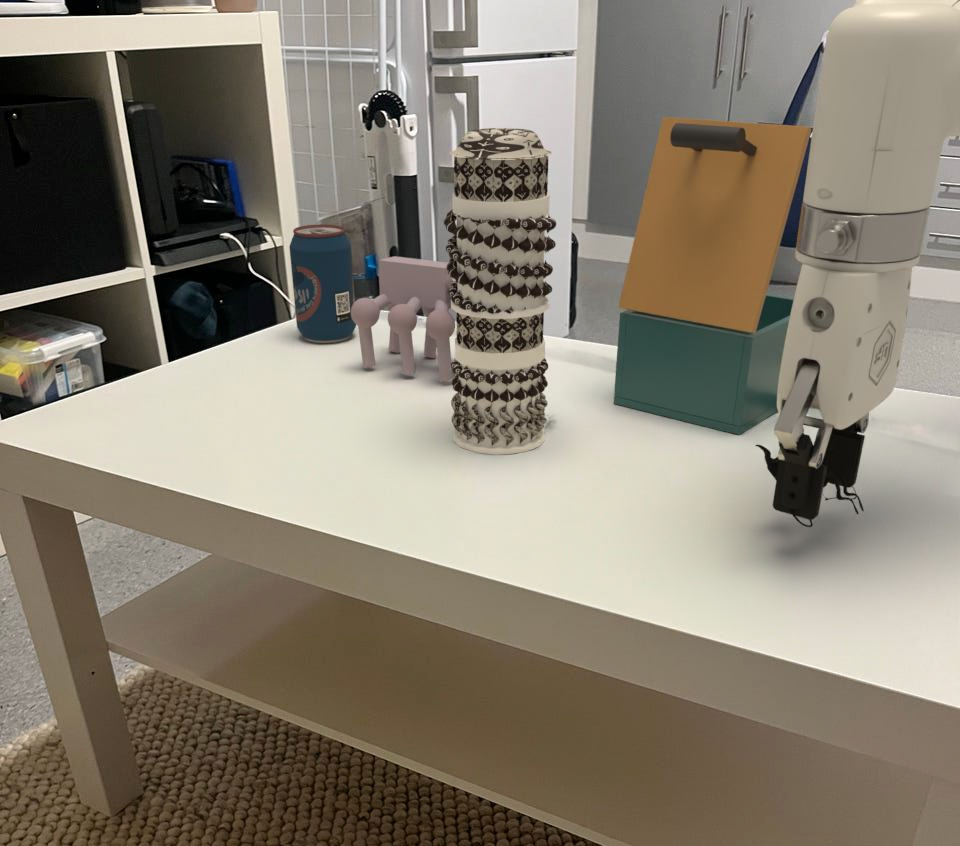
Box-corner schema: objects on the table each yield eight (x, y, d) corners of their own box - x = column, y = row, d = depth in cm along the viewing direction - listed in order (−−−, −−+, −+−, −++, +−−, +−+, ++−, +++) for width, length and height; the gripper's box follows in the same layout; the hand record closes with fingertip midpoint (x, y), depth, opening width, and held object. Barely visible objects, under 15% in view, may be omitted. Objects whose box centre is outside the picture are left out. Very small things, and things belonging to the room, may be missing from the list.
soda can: (286, 336, 120) (275, 229, 113) (332, 325, 124) (324, 221, 118) (322, 348, 116) (312, 237, 109) (369, 336, 120) (362, 228, 113)
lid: (666, 119, 90) (638, 100, 86) (811, 129, 83) (788, 109, 79) (622, 308, 95) (592, 300, 91) (755, 333, 88) (730, 325, 84)
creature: (878, 515, 75) (788, 464, 78) (908, 452, 71) (812, 402, 75) (823, 551, 70) (731, 496, 74) (853, 487, 67) (754, 432, 70)
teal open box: (691, 366, 110) (700, 282, 105) (810, 391, 103) (826, 302, 98) (613, 403, 100) (619, 312, 95) (739, 435, 92) (753, 338, 88)
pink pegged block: (556, 371, 108) (561, 237, 101) (511, 400, 101) (513, 257, 93) (398, 346, 116) (392, 220, 109) (345, 371, 109) (335, 237, 101)
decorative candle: (460, 460, 87) (455, 139, 74) (439, 423, 95) (431, 126, 82) (561, 451, 89) (574, 136, 76) (533, 416, 97) (541, 123, 83)
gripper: (865, 270, 56) (813, 557, 66) (965, 218, 67) (908, 471, 77) (741, 253, 60) (710, 526, 70) (855, 207, 71) (814, 448, 81)
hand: (814, 495), depth 73 cm, fingers closed on creature, 5 cm apart
